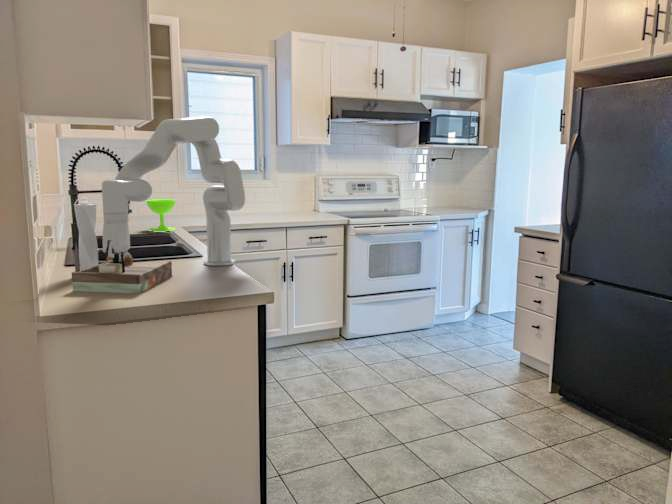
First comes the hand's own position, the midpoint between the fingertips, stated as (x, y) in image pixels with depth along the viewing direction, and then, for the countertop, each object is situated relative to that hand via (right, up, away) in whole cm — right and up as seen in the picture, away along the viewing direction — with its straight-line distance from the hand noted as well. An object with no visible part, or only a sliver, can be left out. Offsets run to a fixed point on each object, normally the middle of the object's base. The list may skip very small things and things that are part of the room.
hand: (119, 272), depth 176 cm
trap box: (0, -4, +4) cm, 6 cm away
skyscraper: (-18, -1, +17) cm, 25 cm away
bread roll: (-15, +2, +36) cm, 39 cm away
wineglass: (-31, +19, +138) cm, 143 cm away
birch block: (-1, -2, -5) cm, 5 cm away
